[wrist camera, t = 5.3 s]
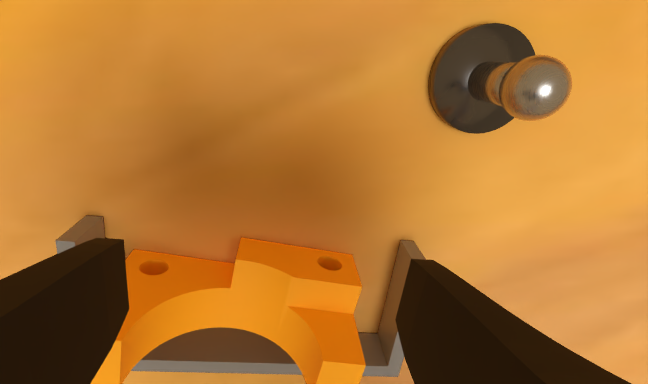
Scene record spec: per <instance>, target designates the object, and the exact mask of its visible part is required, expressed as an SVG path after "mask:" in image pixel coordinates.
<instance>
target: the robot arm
mask: <svg viewBox="0 0 648 384" xmlns="http://www.w3.org/2000/svg"><path fill="white" fill-rule="evenodd" d="M128 311H129V299H128V287H127V274H126V262H125V250H124V240H122V239H107V238H94V239H92V240H89V241H86V242H84V243H81V244H79V245H76V246H74V247H72V248H69V249H67V250H65V251H63V252H61V253H58V254H56V255H54V256H52V257H50V258H47V259H45V260H43V261H41V262H39V263H36V264H34V265H32V266H30V267H28V268H26V269H23V270H21V271H19V272H17V273H15V274H12V275H10V276H8V277H6V278H4V279H1V280H0V384H91V382H92V380H93V379H94V377H95V375H96V374H97V372H98V370H99V369H100V367H101V365H102V364H103V362H104V360H105V359H106V357H107V355H108V354H109V352H110V350H111V349H112V347H113V344H114V342H115V340H116V338H117V336H118V334H119V332H120V329H121V327H122V325H123V323H124V320H125V318H126V316H127V313H128ZM395 321H396V325H397V330H398V334H399V338H400V342H401V346H402V350H403V354H404V357H405V360H406V363H407V365H408V368H409V370H410V373H411V376H412V378H413V381H414V384H631V383H629V382H627V381H625V380H623V379H621V378H620V377H618V376H616V375H614V374H612V373H610V372H608V371H606V370H605V369H603V368H601V367H599V366H597V365H596V364H594V363H592V362H590V361H589V360H587V359H585V358H583V357H581V356H580V355H578V354H576V353H574V352H572V351H571V350H569V349H567V348H566V347H564V346H562V345H561V344H559V343H557V342H556V341H554V340H552V339H551V338H549V337H547V336H546V335H544V334H543V333H541V332H540V331H538V330H536V329H535V328H533V327H532V326H530V325H529V324H527V323H525V322H524V321H522V320H521V319H519V318H518V317H516V316H515V315H513V314H512V313H510V312H509V311H507V310H506V309H504V308H503V307H502V306H500V305H499V304H497V303H496V302H494V301H493V300H491V299H490V298H489V297H487V296H486V295H484V294H483V293H481V292H480V291H479V290H477V289H476V288H474V287H473V286H471V285H470V284H469V283H467V282H466V281H464V280H463V279H462V278H460V277H459V276H457V275H456V274H454V273H453V272H451V271H450V270H448V269H447V268H445V267H444V266H442V265H441V264H439V263H437V262H435V261H434V260H424V259H411V261H410V265H409V269H408V273H407V276H406V280H405V284H404V288H403V292H402V296H401V300H400V304H399V307H398V311H397V315H396V319H395Z"/></svg>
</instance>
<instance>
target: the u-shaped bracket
mask: <svg viewBox="0 0 648 384" xmlns="http://www.w3.org/2000/svg"><path fill="white" fill-rule="evenodd" d="M94 238H105V232H104V222H103V217H100V216H88V215H86V216H85V217H84V218H83V219H81V220H80V221H79V222H78V223H76V224H75V225H74V226H73V227H72V228H70V229H69V230H68V231H67V232H65V233H64V234H63V235H62V236H60V237H59V238H58V239H57V240H56V247H57V253H61V252H63V251H65V250H67V249H69V248H72V247H74V246H76V245H79V244H81V243H84V242H86V241H89V240H92V239H94ZM411 259H424V260H426V259H425V257H424V256H423V254H422V253H421V251H420V250H419V248H418V247H417V245H416V244H415V242H414V241H406V240H401V241H400V245H399V249H398V253H397V257H396V261H395V265H394V269H393V273H392V277H391V281H390V285H389V289H388V293H387V297H386V302H385V306H384V310H383V314H382V318H381V322H380V326H379V330H378V333H358V335H359V339H360V343H361V347H362V352H363V356H364V360H365V364H366V367H365V369H364V372H363V375H362V376H388V377H398V376H399V372H400V369H401V365H402V362H403V358H404V354H403V350H402V346H401V342H400V338H399V334H398V330H397V325H396V321H395V319H396V315H397V311H398V307H399V304H400V300H401V296H402V292H403V288H404V284H405V280H406V276H407V273H408V269H409V265H410V261H411ZM131 371H160V372H206V373H251V374H297V375H303V374H302V372H301V370H300V369H299V367H298V366H297V364H296V363H295V361H294V360H293V359H292V358H291V357H290V355H289V354H288V353H287V352H286V351H284V350H283V349H282V348H281V347H280V346H278V345H277V344H276V343H274V342H273V341H271V340H269V339H267V338H265V337H263V336H261V335H259V334H256V333H253V332H250V331H246V330H242V329H237V328H225V327H217V328H205V329H199V330H194V331H191V332H187V333H184V334H182V335H179V336H176V337H174V338H172V339H170V340H168V341H166V342H164V343H162V344H161V345H159V346H158V347H156V348H155V349H153V350H152V351H150V352H149V353H148V354H147V355H145V356H144V357H143V358H142V359H141V360H140V361H139V362H138V363H137V364H136V365H135V366H134V368H133V369H132V370H131Z"/></svg>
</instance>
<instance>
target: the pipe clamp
mask: <svg viewBox="0 0 648 384" xmlns="http://www.w3.org/2000/svg"><path fill="white" fill-rule="evenodd" d="M125 262H126V274H127V287H128V299H129V311H128V313H127V316H126V318H125V320H124V323H123V325H122V327H121V329H120V332H119V334H118V336H117V338H116V340H115V342H114V344H113V347H112V349H111V350H110V352H109V354H108V355H107V357H106V359H105V360H104V362H103V364H102V365H101V367H100V369H99V370H98V372H97V374H96V375H95V377H94V379H93V380H92V382H91V384H122V383H123V381H124V379H125V378H126V377H127V375H128V374H129V372H130V371H131V370H132V369H133V368H134V366H135V365H136V364H137V363H138V362H139V361H140V360H141V359H142V358H143V357H144V356H145V355H147V354H148V353H149V352H150V351H152V350H153V349H155V348H156V347H158V346H159V345H161V344H162V343H164V342H166V341H168V340H170V339H172V338H174V337H176V336H179V335H182V334H184V333H187V332H191V331H194V330H199V329H205V328H217V327H225V328H237V329H242V330H246V331H250V332H253V333H256V334H259V335H261V336H263V337H265V338H267V339H269V340H271V341H273V342H274V343H276V344H277V345H278V346H280V347H281V348H282V349H283V350H284V351H286V352H287V353H288V354H289V355H290V357H291V358H292V359H293V360H294V361H295V363H296V364H297V366H298V367H299V369H300V370H301V372H302V374H303V377H304V379H305V382H306V384H359V383H360V380H361V377H362V375H363V372H364V369H365V367H366V364H365V360H364V356H363V352H362V347H361V343H360V339H359V335H358V331H357V327H356V323H355V319H354V315H353V314H354V311H355V308H356V304H357V301H358V298H359V295H360V292H361V289H362V285H361V281H360V278H359V275H358V272H357V269H356V265H355V262H354V259H353V256H352V255H351V254H345V253H338V252H332V251H325V250H319V249H313V248H306V247H300V246H293V245H287V244H281V243H274V242H268V241H262V240H255V239H249V238H242V237H241V240H240V244H239V248H238V252H237V256H236V260H235V264H234V263H227V262H220V261H214V260H207V259H200V258H193V257H186V256H179V255H172V254H165V253H158V252H151V251H144V250H137V249H134V250H133V251H132V252H131V254H130V255H129V256H128V257H127V259H126V260H125Z"/></svg>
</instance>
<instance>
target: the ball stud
mask: <svg viewBox="0 0 648 384" xmlns="http://www.w3.org/2000/svg"><path fill="white" fill-rule="evenodd" d="M428 87H429V96H430V101H431V104H432V106H433V108H434V110H435V112H436V113H437V115H438V116H439V117H440V118H441V119H442V120H443V121H444V122H445V123H447V124H448V125H450V126H452V127H454V128H456V129H458V130H461V131H464V132H468V133H485V132H490V131H493V130H496V129H498V128H500V127H502V126H504V125H505V124H507V123H508V122H510V121H511V120H512V119H513V118H514V117H515V118H517V119H521V120H527V121H533V120H539V119H543V118H546V117H548V116H550V115H552V114H554V113H555V112H556V111H558V110H559V109H560V108H561V107H562V106H563V105H564V104H565V102H566V101H567V99H568V97H569V95H570V92H571V88H572V79H571V75H570V72H569V70H568V68H567V67H566V66H565V65H564V64H563V63H562V62H561V61H559V60H558V59H556V58H553V57H550V56H545V55H536V56H535V52H534V50H533V47H532V45H531V43H530V42H529V40H528V39H527V38H526V36H525V35H524V34H522V33H521V32H520V31H519V30H517V29H516V28H514V27H511V26H509V25H505V24H499V23H492V24H483V25H477V26H473V27H470V28H467V29H465V30H463V31H461V32H459V33H458V34H456V35H455V36H453V37H452V38H451V39H450V40H449V41H448V42H447V43H446V44H445V45H444V46H443V48H442V49H441V50H440V52H439V53H438V55H437V57H436V58H435V61H434V63H433V65H432V68H431V72H430V76H429V86H428Z"/></svg>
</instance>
